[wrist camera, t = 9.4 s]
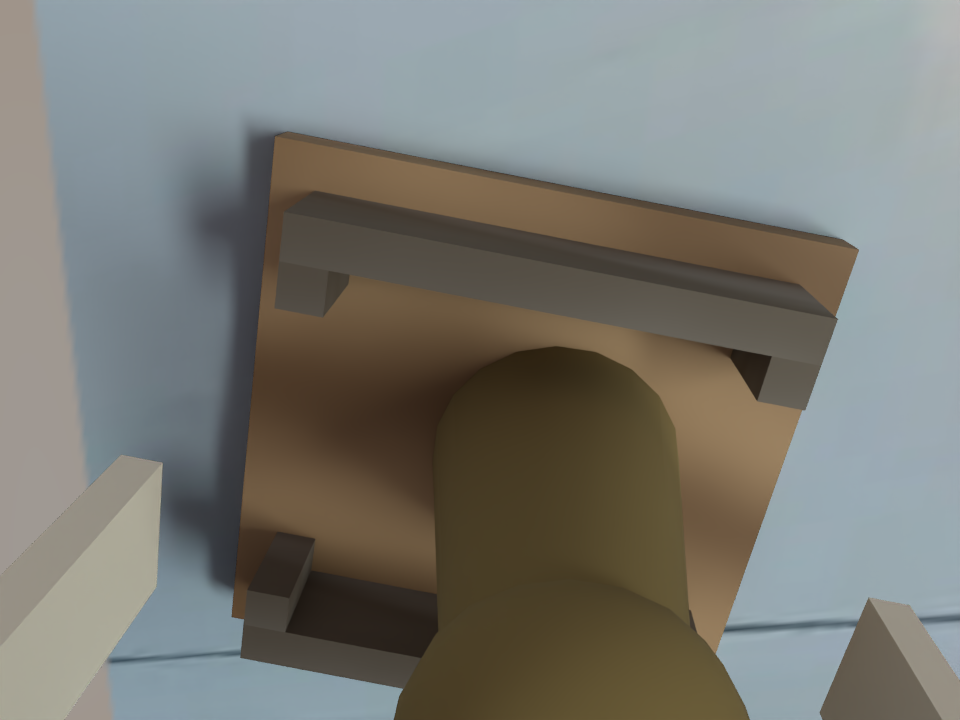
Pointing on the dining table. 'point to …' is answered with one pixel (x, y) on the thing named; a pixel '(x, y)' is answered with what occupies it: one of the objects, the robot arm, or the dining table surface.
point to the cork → (562, 554)
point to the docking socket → (478, 343)
